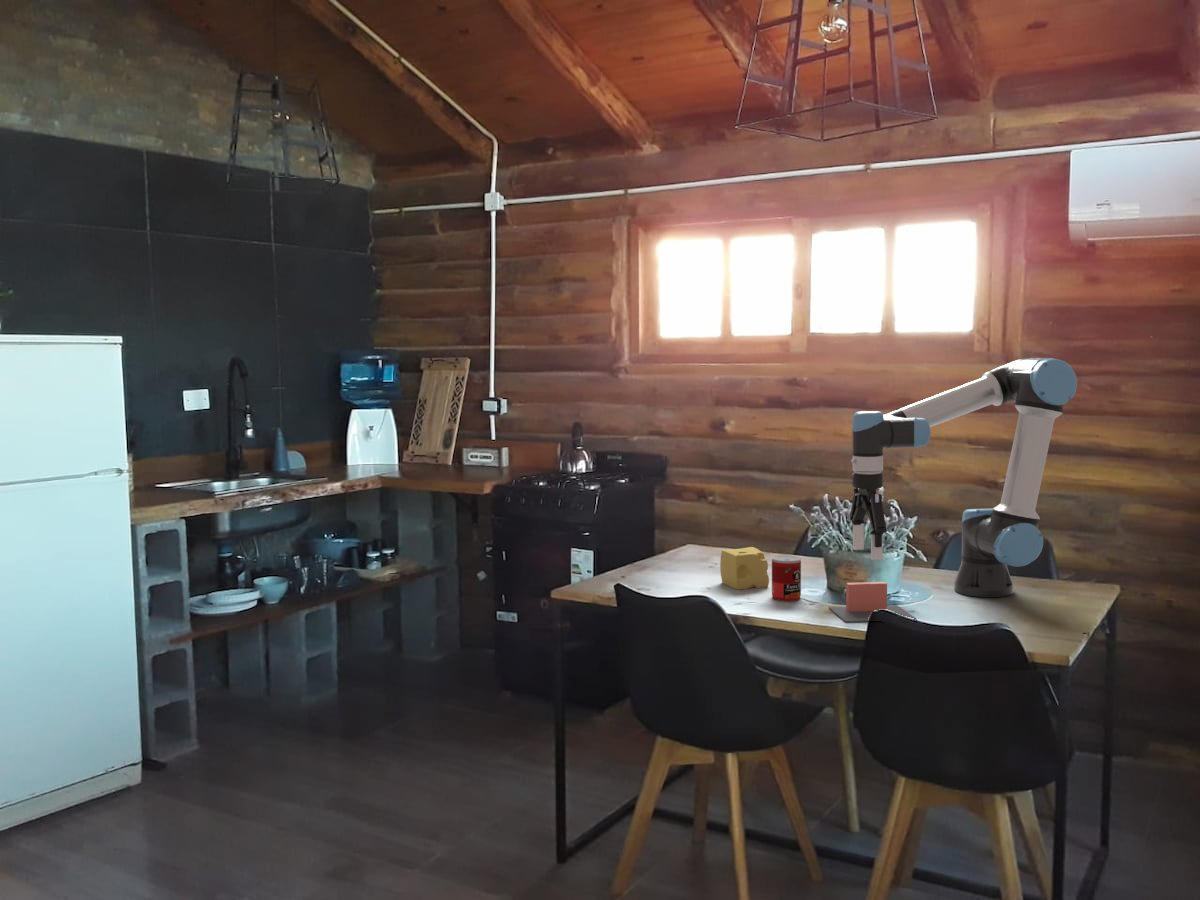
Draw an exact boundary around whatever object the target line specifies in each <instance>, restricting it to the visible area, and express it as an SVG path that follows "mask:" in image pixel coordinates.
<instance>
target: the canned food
mask: <svg viewBox="0 0 1200 900" xmlns="http://www.w3.org/2000/svg"><path fill="white" fill-rule="evenodd" d="M801 568H802V561H801V557H800V556H796V555H795V556H794V555H787V554H786V555H784V554H783V555H775V556H772V557H771V595H772V599H773V600H775V601H780V602H796V601H798V600H800V598H801V596H802V595H801V593H802V592H801V591H802V586H801V585H802V581H801V580H802V569H801Z"/></svg>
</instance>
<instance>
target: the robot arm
mask: <svg viewBox="0 0 1200 900" xmlns="http://www.w3.org/2000/svg"><path fill="white" fill-rule="evenodd" d="M1077 388H1078V377H1077V375H1076V372H1075V370H1074V369H1073V367H1072V366H1071V365H1070V364H1068V363H1067V362H1066V361H1064V360H1061V359H1059V358H1053V357H1023V358H1020V359H1016V360H1013V361H1011V362H1009V363H1006V364H1004V365H1000V366H999V367H996V368H994V369H992V370H991V369H990V370H989V371H986V372H984V373H983V374H982V375H981V378H977V379H975V380H973V381H970V382H967V383H964V384H962V385H959V386H957V387H955V388H952V389H948V390H945V391H943V392H940V393H939V394H935V395H933V396H931V397H928V398H925V399H923V400H920V401H917V402H914V403H912V404H909V405H907V406H904V407H901V408H899V409H897V410H893V411H890V412H887V413H883V412H882V411H878V410H875V411H873V410H871V411H870V410H868V411H867V410H861V411H856V412H855V413H854V414H853V417H852V427H851V428H852V429H851V431H852V432H851V433H852V434H851V435H852V459H851V460H850V463H851V464H852V471H853V473H852V476H851V477H852V478H851V479H852V480H851V483H852V484H851V485H852V487H853V497H852V502H851V508H850V512H849V519H848V520H849V521H851V524H852V550H854V551H858V550H861V551H862V550H864V549H865V548H864V547H865V545H864V543H865V541H864V540H865V538H864V537H865V536H864V535H865V534H864V533H865V532H864V531H865V526H864V524H865V520H864V519H865V516H866V514H867V515H868V516H867V517H868V520H869V523H870V528H871V531H870V533H869V535H870V560H871V561H879V560H880V561H881V560H883V545H884V544H883V543H884V541H883V538H884V537H883V535H884V534H886V533H887V531H888V530H887V525H886V518H885V513H884V507H883V497H882V493H877V489H881V488H882V487H883V485H884V483H883V481H884V475H883V473H882V472H883V471H884V449H900V448H903V449H905V448H908V449H909V448H913V449H916V448H922V447H923V448H924V447H926V446H927V445H928V444H929V442H930V439H931V428H932V427H935V426H937V425H941V424H943V423H946V422H949V421H951V420H953V419H956V418H959V417H962V416H965V415H967V414H969V413H972V412H974V411H978V410H980V409H983V408H986V407H988V406H991V405H992V406H995V407H998V406H1001V405H1004V404H1008V403H1013V402H1015V403H1014V407H1015V409H1016V411H1018V418H1017V423H1016V428H1015V433H1014V437H1013V441H1012V447H1011V452H1010V455H1009V456H1010V457H1009V461H1008V466H1007V471H1006V475H1005V480H1004V485H1003V489H1002V490H1003V491H1002V495H1001V499H1000V503H999V504H997V505H996V506H994V507H993V508H991V507H990V508H968V509H965V510H964V511H963V513H962V517H961V563H960V566H959V568H958V571H957V574H956V577H955V579H954V582H953V583H954V592H957V593H959V594H962V595H965V596H971V597H976V598H977V597H978V598H1005V597H1009V596H1012V595H1013V594H1014V585H1013V582H1012V578H1011V575H1010V572H1009V569H1008V568H1009V567H1008V566H1012V567H1019V568H1020V567H1024V566H1027V565H1030V564H1031V563H1033V562H1034V561H1035V560H1037V558H1038V557H1039V556H1040V555H1041V552H1042V550H1043V547H1044V537H1043V535H1042V533H1041V531H1040V529H1039V524H1040V519H1041V517H1040V516H1039V515H1038V513H1037V511H1036V507H1037V505H1038V504H1037V503H1038V498H1039V493H1040V488H1041V484H1042V480H1043V475H1044V470H1045V466H1046V463H1047V461H1046V460H1047V456H1048V451H1049V447H1050V442H1051V438H1052V433H1053V428H1054V424H1055V420H1056V419H1057V418H1059V417H1060V416H1061V415H1063V413H1064V408H1065V404H1066V403H1069V401H1070V400H1072V399H1073V398H1074V396H1075V395H1076V391H1077ZM865 525H866V524H865Z"/></svg>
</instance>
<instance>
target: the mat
mask: <svg viewBox="0 0 1200 900" xmlns="http://www.w3.org/2000/svg"><path fill="white" fill-rule="evenodd" d="M828 609H829V611H831V612H832V613H833V612H834V613H833V614H834V615H835V616H837V618H840V620H842V621H843V622H844V623H868V622H867V621H868V617H869V615H870V613H871V612H873V611H854V612H848V611H847V610H846V606H833V607H831V606H828ZM887 609H888V610H891V611H894V612H895V613H898V614H900V615H903V616H907V617H911V618H914V619H917V618H916V617H915V616H914V615H912V614H910V613H909V612H908V611H906V610H905V609H903V608H902V607H901V606H899V605H898V604H890V605H889V604H887Z"/></svg>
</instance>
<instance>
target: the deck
mask: <svg viewBox="0 0 1200 900" xmlns="http://www.w3.org/2000/svg"><path fill="white" fill-rule="evenodd" d="M845 584H846V586H845V595H846V596H845V607H846V610H847V611H848V612H854V611H874V610H879V609H887V605H888V583H887V582H885V581H870V582H869V581H868V582H867V581H865V582H864V581H863V582H846V583H845Z"/></svg>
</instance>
